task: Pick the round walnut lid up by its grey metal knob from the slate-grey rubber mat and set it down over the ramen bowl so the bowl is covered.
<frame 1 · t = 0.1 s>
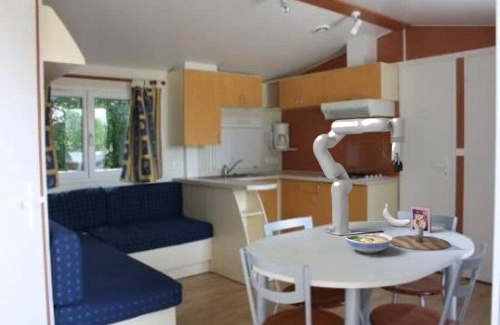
hand: (398, 171, 237), 37 cm above the table, tool pointing down, fingers open, 9 cm apart
ramen bowl: (368, 252, 212), on the table
lid: (419, 243, 225), resting on mat
banana: (397, 226, 271), on the table
mat: (419, 244, 225), on the table
greeting card: (422, 232, 254), on the table
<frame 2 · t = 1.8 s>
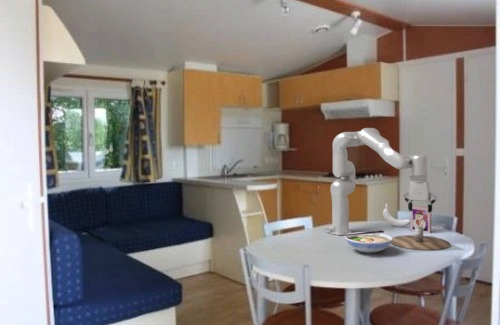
hand: (420, 211, 224), 17 cm above the table, tool pointing down, fingers open, 9 cm apart
nothing on the table moved.
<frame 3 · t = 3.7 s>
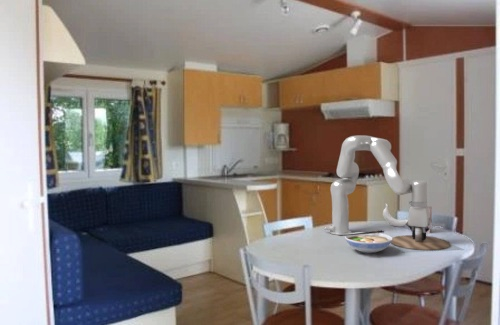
hand: (419, 239, 225), 3 cm above the table, tool pointing down, fingers closed on lid, 4 cm apart
lid: (419, 243, 225), resting on mat, touching gripper
everything else where it was.
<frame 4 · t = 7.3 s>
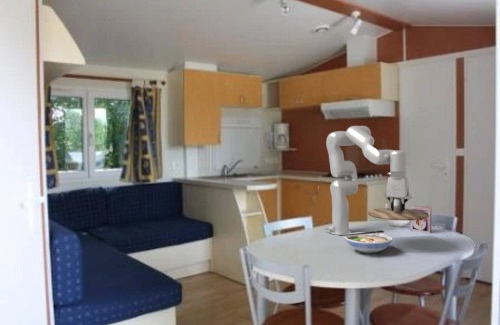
hand: (397, 210, 219), 19 cm above the table, tool pointing down, fingers closed on lid, 4 cm apart
lid: (397, 214, 219), point 17 cm above the table, touching gripper
everything else where it was.
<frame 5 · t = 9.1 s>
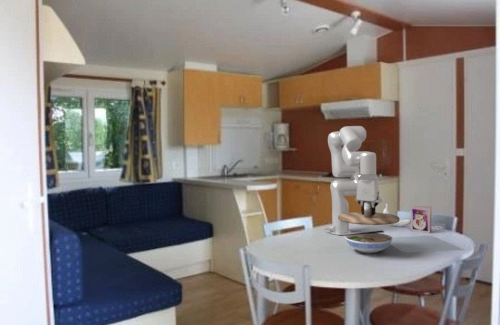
hand: (368, 214, 211), 19 cm above the table, tool pointing down, fingers closed on lid, 4 cm apart
lid: (368, 219, 211), point 16 cm above the table, touching gripper
everything else where it was.
when the fingers open (12 cm above the table, at t = 10.8 s): lid drops 1 cm, resting on ramen bowl.
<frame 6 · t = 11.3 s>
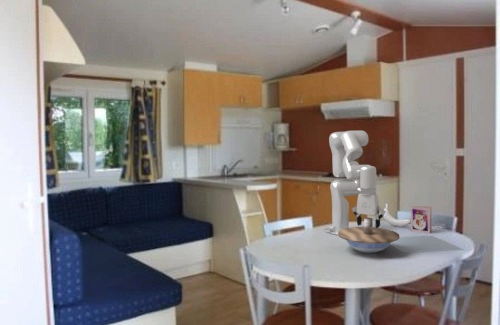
hand: (368, 226, 212), 13 cm above the table, tool pointing down, fingers open, 9 cm apart
ramen bowl: (368, 252, 212), on the table, touching lid
lid: (368, 235, 212), point 8 cm above the table, touching ramen bowl
everything else where it was.
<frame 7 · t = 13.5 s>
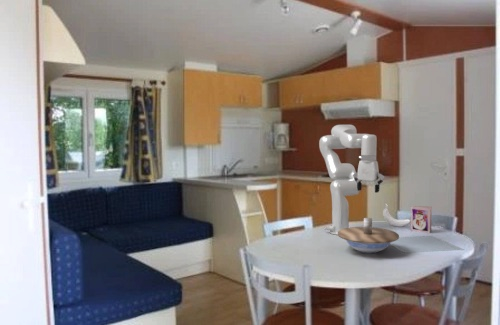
hand: (368, 191, 224), 28 cm above the table, tool pointing down, fingers open, 9 cm apart
nothing on the table moved.
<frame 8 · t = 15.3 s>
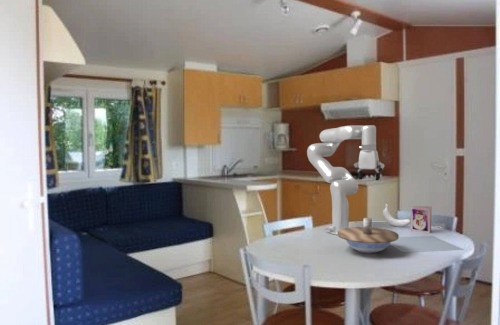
hand: (369, 179, 234), 33 cm above the table, tool pointing down, fingers open, 9 cm apart
nothing on the table moved.
at the end: lid inside the target area on the ramen bowl (0.5 cm from its centre), point 8.2 cm above the ramen bowl's base; lid touching ramen bowl; the gripper is holding nothing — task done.
